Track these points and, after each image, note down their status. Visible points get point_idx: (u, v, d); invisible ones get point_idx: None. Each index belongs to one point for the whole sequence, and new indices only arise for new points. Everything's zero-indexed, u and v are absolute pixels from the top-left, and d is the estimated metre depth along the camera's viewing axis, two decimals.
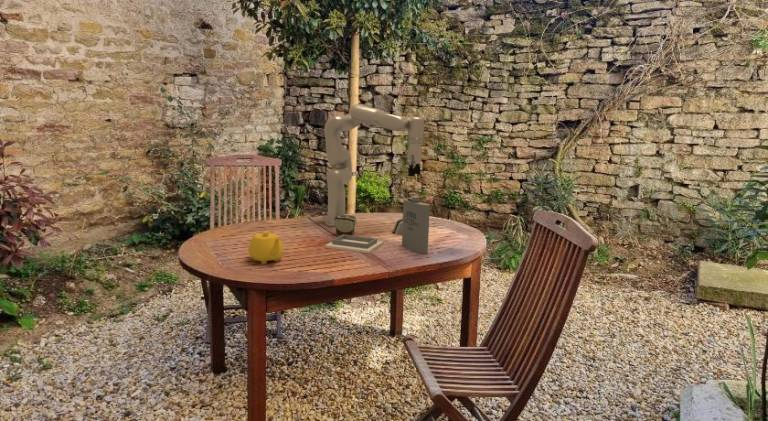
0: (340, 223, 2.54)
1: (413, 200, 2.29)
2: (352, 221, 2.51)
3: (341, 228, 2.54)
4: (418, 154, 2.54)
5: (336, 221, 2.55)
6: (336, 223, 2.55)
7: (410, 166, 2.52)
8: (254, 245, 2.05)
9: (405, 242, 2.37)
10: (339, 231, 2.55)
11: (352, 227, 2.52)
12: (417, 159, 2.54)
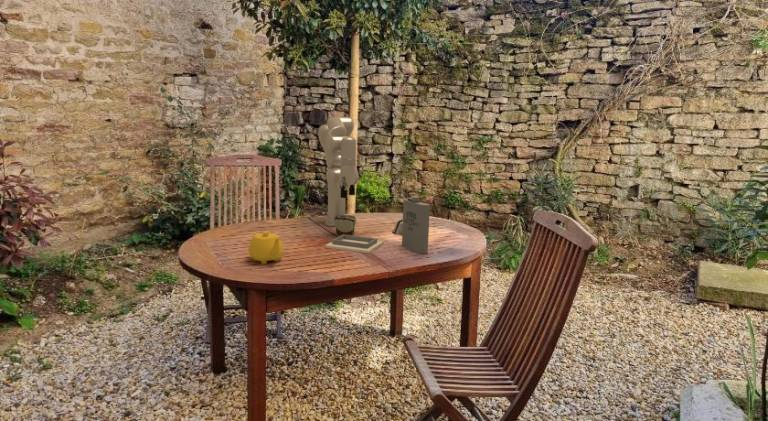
0: (340, 223, 2.54)
1: (413, 200, 2.29)
2: (352, 221, 2.51)
3: (341, 228, 2.54)
4: (350, 175, 2.48)
5: (336, 221, 2.55)
6: (336, 223, 2.55)
7: (341, 188, 2.46)
8: (254, 245, 2.05)
9: (405, 242, 2.37)
10: (339, 231, 2.55)
11: (352, 227, 2.52)
12: (349, 181, 2.48)
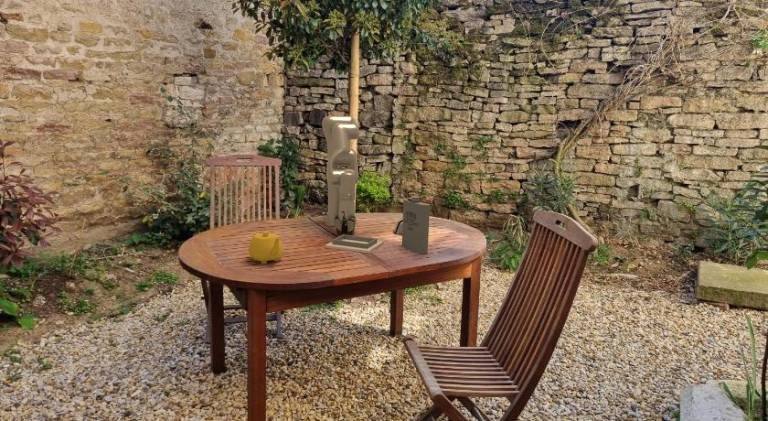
0: (340, 222, 2.54)
1: (413, 200, 2.29)
2: (352, 221, 2.51)
3: None
4: (350, 210, 2.52)
5: (336, 221, 2.55)
6: (336, 223, 2.55)
7: (342, 223, 2.51)
8: (254, 245, 2.05)
9: (405, 242, 2.37)
10: (340, 231, 2.55)
11: (352, 227, 2.52)
12: (349, 215, 2.51)
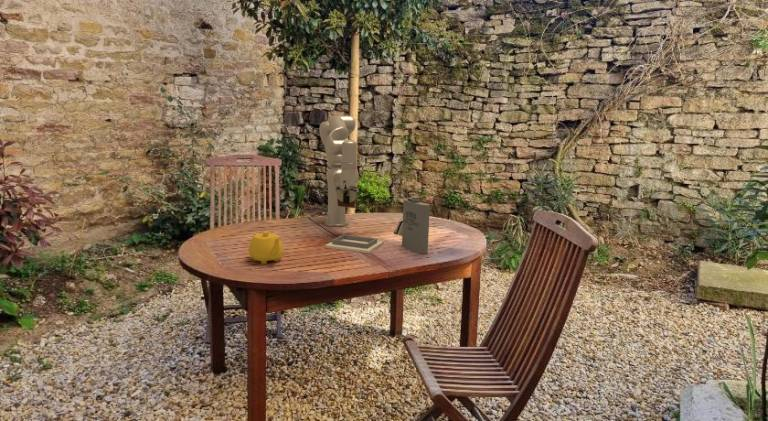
0: (342, 193, 2.49)
1: (413, 200, 2.29)
2: (354, 191, 2.46)
3: None
4: (351, 179, 2.46)
5: (337, 192, 2.50)
6: (337, 194, 2.50)
7: (344, 193, 2.46)
8: (254, 245, 2.05)
9: (405, 242, 2.37)
10: (341, 202, 2.50)
11: (354, 197, 2.47)
12: (350, 184, 2.46)
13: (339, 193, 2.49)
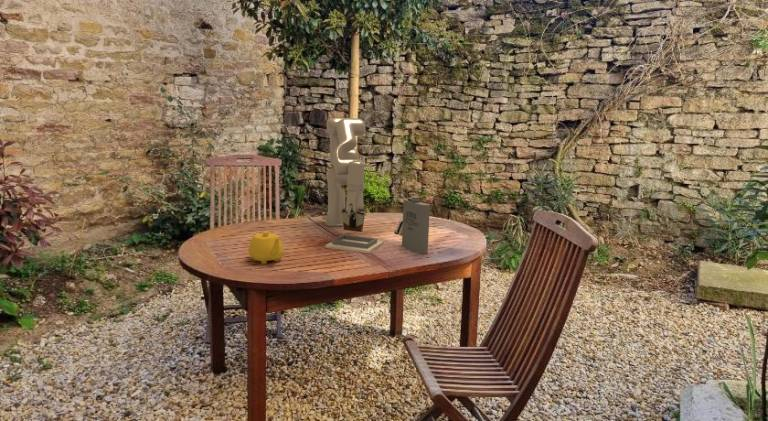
0: (348, 216, 2.33)
1: (413, 200, 2.29)
2: (361, 214, 2.30)
3: None
4: (358, 202, 2.31)
5: (343, 214, 2.34)
6: (343, 217, 2.34)
7: (350, 217, 2.30)
8: (254, 245, 2.05)
9: (405, 242, 2.37)
10: (347, 226, 2.34)
11: (361, 221, 2.31)
12: (357, 207, 2.30)
13: (345, 216, 2.34)
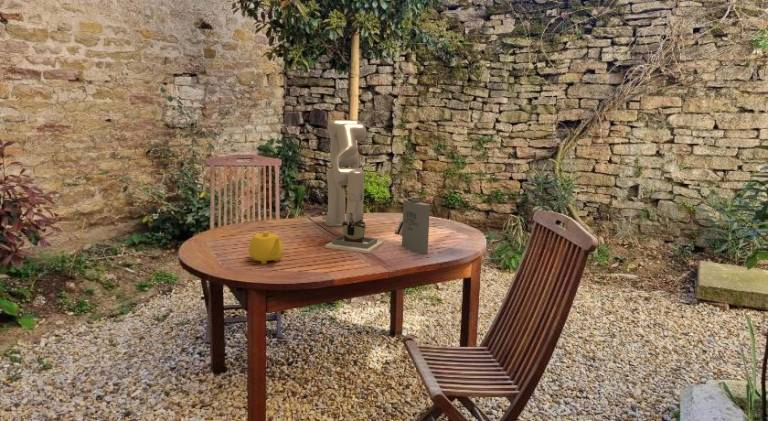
0: None
1: (413, 200, 2.29)
2: (362, 227, 2.33)
3: (350, 235, 2.36)
4: (358, 211, 2.31)
5: (344, 227, 2.36)
6: (344, 230, 2.36)
7: (348, 225, 2.29)
8: (254, 245, 2.05)
9: (405, 242, 2.37)
10: (348, 239, 2.36)
11: (362, 234, 2.33)
12: (357, 217, 2.31)
13: (345, 229, 2.36)
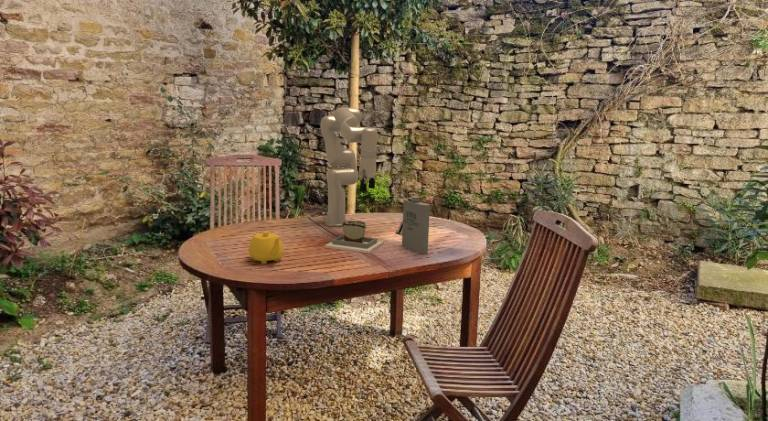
0: (348, 229, 2.36)
1: (413, 200, 2.29)
2: (362, 227, 2.33)
3: (350, 235, 2.36)
4: (370, 168, 2.39)
5: (344, 227, 2.36)
6: (344, 230, 2.36)
7: (361, 181, 2.37)
8: (254, 245, 2.05)
9: (405, 242, 2.37)
10: (348, 238, 2.37)
11: (362, 234, 2.34)
12: (369, 173, 2.39)
13: (346, 229, 2.36)
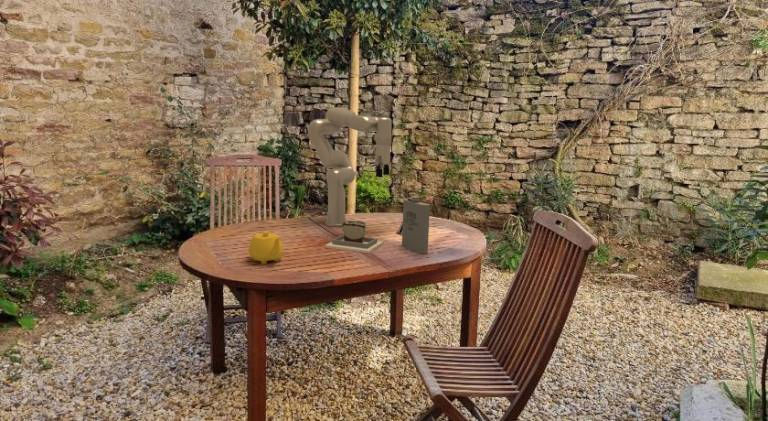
0: (348, 229, 2.36)
1: (413, 200, 2.29)
2: (362, 227, 2.33)
3: (350, 235, 2.36)
4: (386, 155, 2.53)
5: (344, 227, 2.36)
6: (344, 230, 2.36)
7: (377, 167, 2.50)
8: (254, 245, 2.05)
9: (405, 242, 2.37)
10: (348, 238, 2.37)
11: (362, 234, 2.34)
12: (385, 160, 2.52)
13: (346, 229, 2.36)
